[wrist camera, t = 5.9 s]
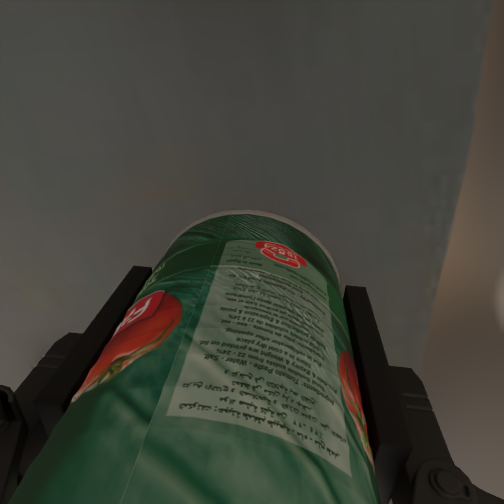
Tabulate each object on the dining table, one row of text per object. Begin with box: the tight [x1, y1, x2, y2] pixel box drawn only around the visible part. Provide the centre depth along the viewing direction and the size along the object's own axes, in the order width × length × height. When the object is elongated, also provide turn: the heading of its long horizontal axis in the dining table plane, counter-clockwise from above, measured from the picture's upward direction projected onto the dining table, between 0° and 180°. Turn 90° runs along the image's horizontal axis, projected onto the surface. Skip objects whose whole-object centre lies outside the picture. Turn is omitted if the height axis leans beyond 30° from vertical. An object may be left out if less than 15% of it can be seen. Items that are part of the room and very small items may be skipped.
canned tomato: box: [8, 209, 381, 504], centre depth 11 cm, size 8×8×11 cm
